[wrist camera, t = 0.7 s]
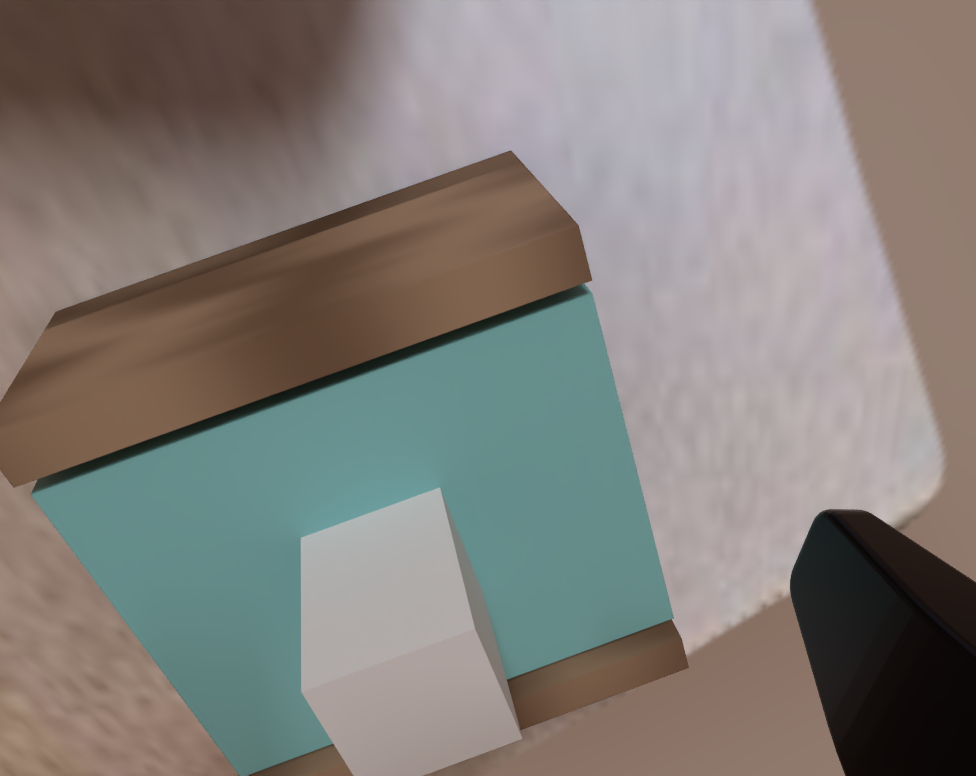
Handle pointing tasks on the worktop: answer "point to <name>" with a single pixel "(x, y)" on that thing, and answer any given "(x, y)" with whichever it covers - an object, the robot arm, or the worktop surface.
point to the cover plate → (354, 456)
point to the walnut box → (316, 355)
